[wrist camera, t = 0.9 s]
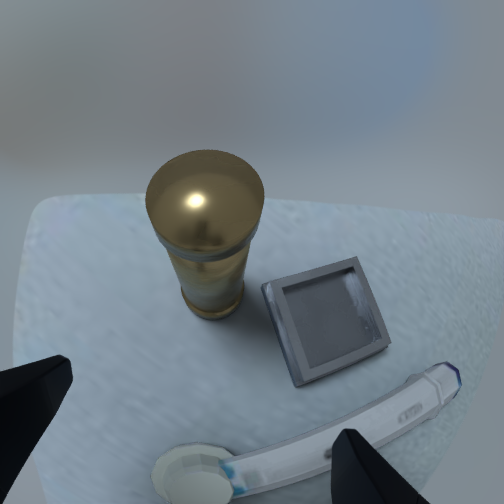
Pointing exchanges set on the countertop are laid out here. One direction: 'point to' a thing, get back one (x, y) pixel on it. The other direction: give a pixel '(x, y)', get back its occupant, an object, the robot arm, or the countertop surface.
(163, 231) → the brass domed cylinder
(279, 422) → the countertop surface
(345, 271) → the shallow square tray
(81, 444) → the countertop surface
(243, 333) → the countertop surface
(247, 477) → the white long piece
